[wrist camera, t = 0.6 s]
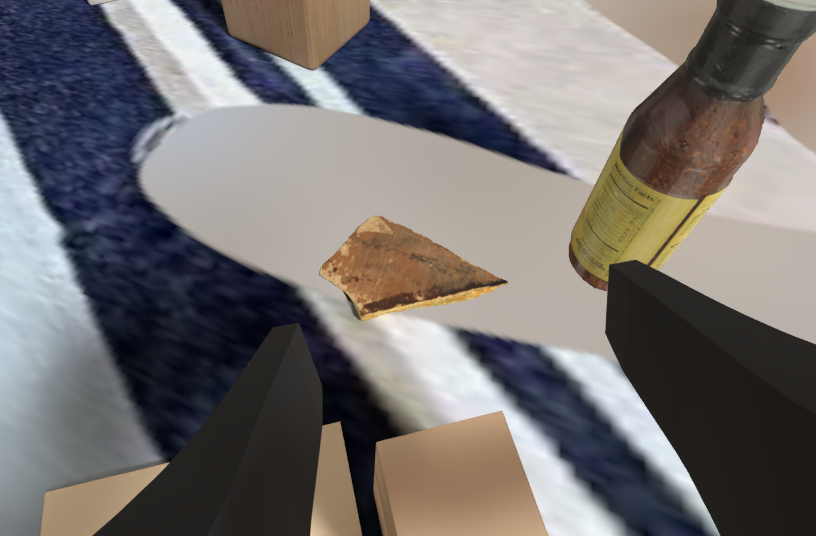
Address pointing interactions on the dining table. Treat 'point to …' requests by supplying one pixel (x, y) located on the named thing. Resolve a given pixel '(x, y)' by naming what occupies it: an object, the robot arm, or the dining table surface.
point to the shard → (401, 271)
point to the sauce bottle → (688, 138)
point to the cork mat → (102, 499)
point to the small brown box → (455, 482)
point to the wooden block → (296, 26)
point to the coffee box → (97, 1)
